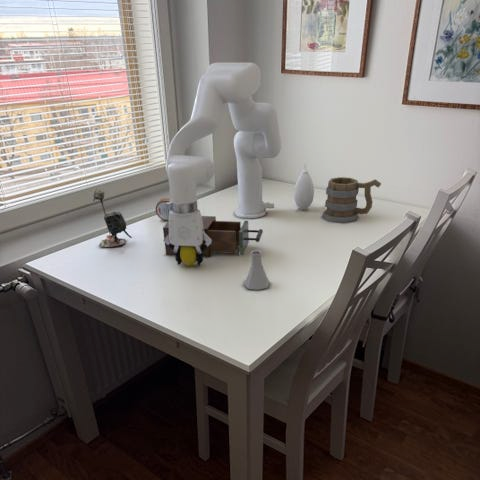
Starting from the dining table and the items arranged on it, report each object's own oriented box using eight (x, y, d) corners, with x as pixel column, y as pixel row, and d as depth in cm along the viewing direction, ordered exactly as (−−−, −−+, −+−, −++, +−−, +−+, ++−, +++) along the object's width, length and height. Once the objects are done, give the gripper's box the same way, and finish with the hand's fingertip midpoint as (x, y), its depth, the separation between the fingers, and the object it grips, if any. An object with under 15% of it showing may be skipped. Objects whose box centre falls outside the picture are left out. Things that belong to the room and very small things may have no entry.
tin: (195, 218, 183) (193, 197, 179) (193, 221, 180) (191, 200, 176) (158, 218, 185) (155, 197, 180) (156, 221, 182) (153, 200, 178)
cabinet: (217, 243, 161) (215, 216, 156) (209, 257, 151) (207, 229, 146) (176, 241, 163) (174, 215, 158) (166, 255, 153) (162, 227, 148)
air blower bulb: (315, 207, 191) (318, 162, 181) (309, 213, 185) (311, 166, 175) (297, 205, 194) (298, 160, 184) (291, 211, 188) (292, 165, 178)
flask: (243, 280, 136) (242, 248, 130) (267, 278, 136) (267, 246, 131) (245, 291, 129) (244, 258, 124) (271, 289, 130) (271, 256, 125)
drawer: (263, 243, 157) (263, 221, 153) (259, 256, 148) (258, 232, 144) (210, 241, 160) (208, 219, 156) (202, 253, 151) (200, 230, 147)
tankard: (320, 220, 177) (322, 181, 169) (327, 210, 187) (330, 172, 179) (373, 226, 170) (378, 185, 162) (378, 215, 180) (383, 176, 172)
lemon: (201, 263, 146) (199, 239, 142) (194, 270, 142) (192, 246, 138) (185, 261, 148) (183, 238, 144) (178, 268, 144) (175, 244, 139)
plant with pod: (125, 249, 158) (116, 191, 148) (95, 247, 161) (83, 190, 150) (135, 240, 165) (126, 184, 155) (106, 238, 167) (95, 183, 157)
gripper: (152, 210, 133) (159, 267, 143) (210, 211, 131) (214, 269, 140) (160, 202, 140) (167, 257, 149) (216, 203, 137) (219, 259, 146)
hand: (189, 262), depth 144 cm, fingers closed on lemon, 5 cm apart
